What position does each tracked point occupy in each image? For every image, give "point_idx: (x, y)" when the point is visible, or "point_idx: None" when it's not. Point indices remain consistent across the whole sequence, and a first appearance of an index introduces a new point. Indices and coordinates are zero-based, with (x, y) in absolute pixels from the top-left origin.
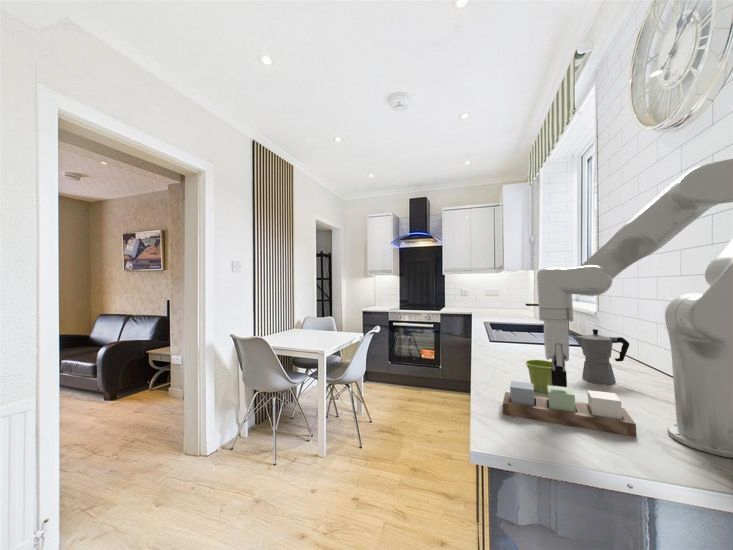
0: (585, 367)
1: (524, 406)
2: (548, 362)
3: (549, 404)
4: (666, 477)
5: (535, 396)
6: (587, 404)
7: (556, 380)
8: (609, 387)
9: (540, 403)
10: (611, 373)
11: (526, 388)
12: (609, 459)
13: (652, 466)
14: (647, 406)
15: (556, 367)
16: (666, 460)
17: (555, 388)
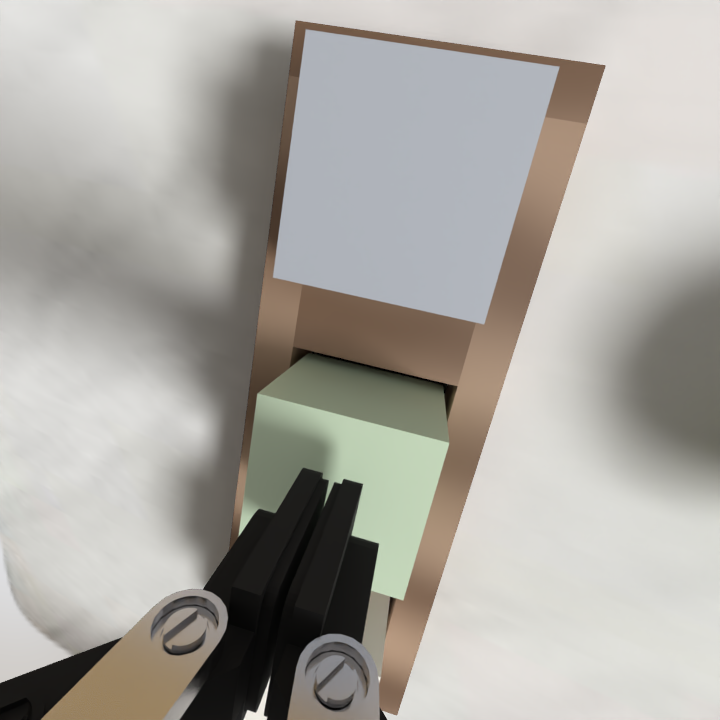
0: None
1: (278, 196)
2: None
3: (295, 366)
4: (19, 536)
5: (513, 325)
6: (412, 586)
7: (248, 526)
8: None
9: (363, 323)
10: None
11: (300, 215)
12: (48, 439)
13: (62, 536)
14: None
15: (60, 674)
16: (115, 592)
17: (363, 479)
